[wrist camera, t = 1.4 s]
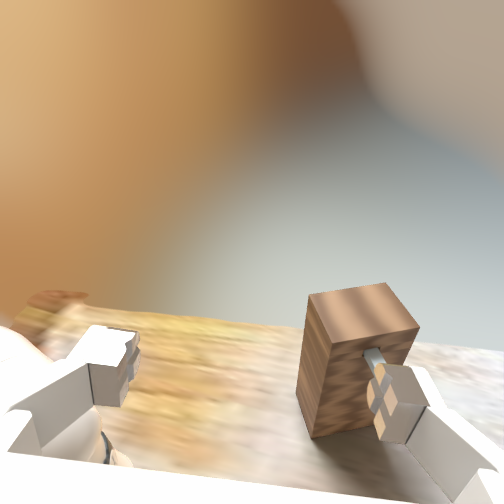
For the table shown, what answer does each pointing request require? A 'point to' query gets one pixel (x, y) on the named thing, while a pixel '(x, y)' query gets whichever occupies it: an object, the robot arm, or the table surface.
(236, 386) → the table surface
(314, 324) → the post
